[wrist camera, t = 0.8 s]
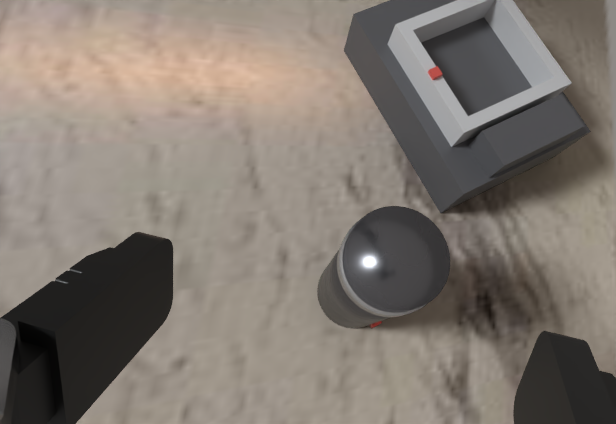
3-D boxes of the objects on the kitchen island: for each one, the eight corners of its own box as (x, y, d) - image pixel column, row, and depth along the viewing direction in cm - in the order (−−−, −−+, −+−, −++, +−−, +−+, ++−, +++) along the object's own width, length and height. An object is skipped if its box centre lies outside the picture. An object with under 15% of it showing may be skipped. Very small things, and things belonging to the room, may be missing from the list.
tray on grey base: (343, 50, 37) (360, -11, 31) (454, 6, 39) (490, -59, 33) (440, 213, 33) (479, 180, 27) (555, 156, 36) (615, 114, 30)
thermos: (303, 275, 31) (324, 231, 21) (366, 244, 32) (417, 187, 22) (338, 344, 30) (379, 335, 20) (402, 310, 31) (474, 283, 21)
